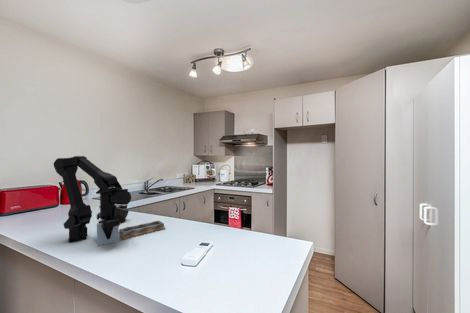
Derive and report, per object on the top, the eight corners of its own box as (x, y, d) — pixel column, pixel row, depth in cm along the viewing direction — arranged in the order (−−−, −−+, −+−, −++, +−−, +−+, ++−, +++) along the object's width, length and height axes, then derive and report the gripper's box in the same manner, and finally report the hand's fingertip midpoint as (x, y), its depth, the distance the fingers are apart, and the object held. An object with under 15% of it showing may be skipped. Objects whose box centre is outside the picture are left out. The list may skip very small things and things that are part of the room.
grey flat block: (98, 245, 90) (97, 225, 90) (96, 243, 92) (96, 223, 92) (118, 240, 95) (118, 221, 95) (117, 238, 98) (116, 219, 97)
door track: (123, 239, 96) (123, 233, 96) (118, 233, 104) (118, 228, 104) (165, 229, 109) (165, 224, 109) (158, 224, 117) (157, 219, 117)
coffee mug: (122, 224, 118) (122, 206, 118) (107, 224, 118) (107, 206, 118) (132, 218, 130) (132, 202, 130) (119, 218, 130) (119, 202, 130)
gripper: (132, 204, 92) (133, 238, 92) (122, 197, 106) (122, 228, 106) (103, 208, 85) (103, 246, 85) (96, 201, 99) (96, 233, 99)
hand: (107, 237), depth 94 cm, fingers closed on grey flat block, 3 cm apart
